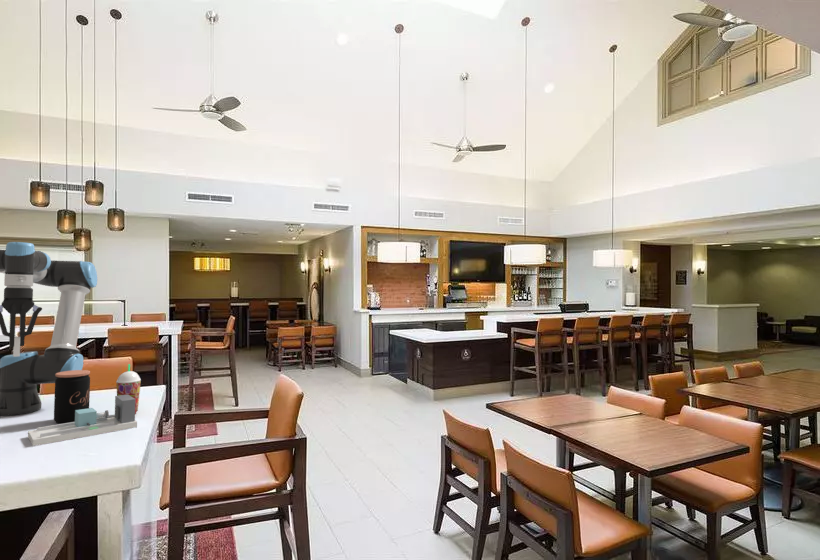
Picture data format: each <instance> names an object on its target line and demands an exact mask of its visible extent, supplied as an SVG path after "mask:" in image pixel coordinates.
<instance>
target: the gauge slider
mask: <svg viewBox="0 0 820 560" xmlns="http://www.w3.org/2000/svg"><path fill="white" fill-rule="evenodd" d="M109 416H110V415H109V410H104V412H97V410H96V409H94V408H93V407H89V408H88V409H81V410H75V426H76V427H82V426H90V425H94V424H96V418H101V417H105V418H109Z"/></svg>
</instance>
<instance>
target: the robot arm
mask: <svg viewBox="0 0 820 560" xmlns="http://www.w3.org/2000/svg"><path fill="white" fill-rule="evenodd" d="M5 246H6V247H5V249H0V273H1V274H4V280H3V281H4V283H3V284H4V286H5V288H3V300H2V302H1V304H0V330H1V334H2V335H3V336H5V337H9V339H8V340H9V341H8V342H9V344H8V345H9V347H11V348H13V349H12V353H13V354H7V355H4V356H2V357H1V358H0V417H1V416H3V417H5V416H16V415H17V416H18V415H23V414H28V413H33V412H37V411H39V410H41V409H42V400H41V398H40V396H39V393H38V390H37V388H38V385H43V384H44V385H45V384H46V385H47V384H49V385H50V384H55V380H56V379H57V377H56V376H55V374H56V373H58V372H64V371H72V370H83V368H84V367H83V366H84V356H83V354H81V353H80V349H78V347H77V343H78V337H79V332H80V327H81V321H82V315H83V309H84V304H85V299H86V295H88V294H90V293H91V288H92V289H93V288H95V287H97V285H98V274H97V269H96V266H95V265H94V263H92V262H91V261H83V260H51V257H50V255H48V254H47V253H46V252H43V251H41V250H35V245H34V243H32V242H31V243H30V242H22V241H9V242H7V243H6V244H5ZM34 284H36V285H41V286H47V287H52V288H55V287H57V291H59V292H60V297H59V302H58V305H57V306H58V308H57V312H56V315H55V316H56V317H55V322H54V326H53V327H54V328H53V330H52V331H53V333H52V335H51V336H52V337H51V342H50V346H48V347H46V348H45V350H44V354H39V352H38V351H37V350H34V351H25V352H21V347H23V346H25V337H26V336H29V335H32V332H33V330H34V327H35V325H36V321H37V319H38V315H39V313H41V312H42V310H43V308H42V307H41V306H38V305H37V304H35V301H34V289H33V288H32V287H34ZM3 309H4V310H5V311H6V312H7V313H8V314H9V331H8V329H7V327H6V326H7V325H6V323H5V319H4V316H3V311H4V310H3ZM31 309H32V314H31V317H30V321H29V323H28V327H27V329H26V317H27V314H28V313H29V311H30V310H31ZM17 315H19V334H18V335H19V336H16V316H17Z"/></svg>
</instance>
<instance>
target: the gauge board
mask: <svg viewBox="0 0 820 560" xmlns="http://www.w3.org/2000/svg"><path fill="white" fill-rule="evenodd" d="M133 427H135V428H138V421H137V420H136V414H135V399H134V398H133V397H131V396H129V395H128V394H127V395H120V396H117V395H115V399H114V417H108V418H105V417H100V418H96V424H94V425H90V426H82V427H76V426H75V422H70V423H63V424H58V423H56V424H52V425H46V426H39V427H36V429H34V430H29V431H28V432H27V438H28V440H29V442H30V443H32V444H31V446H32V447H35V446H36V445H37V446H41V445H47V444H52V443H58V442H63V441H69V440H73V439H74V440H75V439H80V438H79V437H81V438H85V437H90V436H91V435H92V436H97V435H102V434H107V433H112V432H113V431H114V432H117V431H118V430H119V431H123V429H124V430H129V429H128V428H130V429H134V428H133ZM92 436H91V437H92ZM37 446H36V447H37Z"/></svg>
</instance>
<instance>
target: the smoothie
mask: <svg viewBox="0 0 820 560" xmlns="http://www.w3.org/2000/svg"><path fill="white" fill-rule="evenodd" d="M127 367H128V368H127V371H124V372H123V373H121V374H119V376H118V377H117V380H115V382H116V396H120V395H127V394H128V395H129V396H131V397H133V398H134V399H135V415H136V414H137V412H138V411H139V405H140V403H139V402H140V391H141V383H142V382H141V381H142V379H141V377H140V375H139V374H138V373H137V372H135V371H133V370H131V364H130V363H128V364H127Z"/></svg>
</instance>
